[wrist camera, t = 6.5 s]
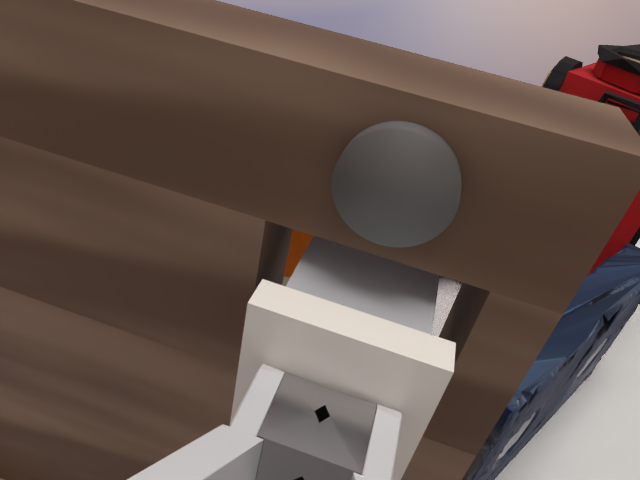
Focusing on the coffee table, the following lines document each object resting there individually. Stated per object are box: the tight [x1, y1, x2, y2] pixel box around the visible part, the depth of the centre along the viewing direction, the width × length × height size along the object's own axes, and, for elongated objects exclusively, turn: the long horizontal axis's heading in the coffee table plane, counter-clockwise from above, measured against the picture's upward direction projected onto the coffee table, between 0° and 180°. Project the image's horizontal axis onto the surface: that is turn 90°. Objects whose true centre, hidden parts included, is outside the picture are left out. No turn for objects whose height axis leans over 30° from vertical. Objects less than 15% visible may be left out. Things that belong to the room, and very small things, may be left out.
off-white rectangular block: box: [230, 236, 456, 480], centre depth 14 cm, size 7×4×4 cm, turn 164°
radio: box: [542, 44, 640, 276], centre depth 38 cm, size 16×10×20 cm, turn 139°
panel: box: [0, 0, 640, 480], centre depth 17 cm, size 6×23×21 cm, turn 74°
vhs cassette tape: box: [462, 243, 640, 480], centre depth 27 cm, size 18×3×10 cm, turn 131°
